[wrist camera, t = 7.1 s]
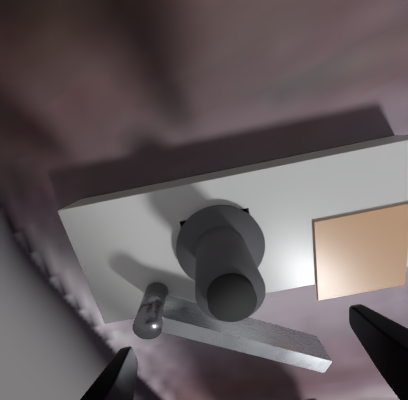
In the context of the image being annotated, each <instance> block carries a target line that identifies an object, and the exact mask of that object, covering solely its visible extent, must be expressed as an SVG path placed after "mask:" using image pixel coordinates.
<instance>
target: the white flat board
mask: <svg viewBox="0 0 408 400" xmlns="http://www.w3.org/2000/svg"><path fill="white" fill-rule="evenodd" d="M214 205H229V206H233V207H237V208H239V209H242V210H243V211H245V212H247V213H248V214H249V215H251V216H252V217H253V218H254V219H255V221H256V222H257V224H258V225H259V226H260V228H261V230H262V232H263V235H264V239H265V252H264V256H263V259H262V262H261V263H260V265H259V267H258V270H259V272H260V274H261V276H262V278H263V280H264V283H265V289H266V292H265V293H270V292H275V291H281V290H286V289H291V288H297V287H302V286H307V285H313V284H316V288H317V299H318V301H320V300H325V299H330V298H336V297H341V296H346V295H352V294H357V293H362V292H368V291H373V290H379V289H384V288H389V287H395V286H400V285H405V275H406V267H408V135H395V136H390V137H385V138H380V139H375V140H370V141H365V142H360V143H355V144H350V145H345V146H340V147H335V148H330V149H326V150H321V151H316V152H311V153H306V154H301V155H296V156H291V157H286V158H281V159H276V160H271V161H266V162H262V163H257V164H252V165H247V166H242V167H237V168H232V169H227V170H222V171H217V172H212V173H207V174H202V175H197V176H193V177H188V178H183V179H178V180H173V181H168V182H163V183H158V184H153V185H148V186H143V187H138V188H133V189H128V190H124V191H119V192H114V193H109V194H104V195H99V196H94V197H89V198H84V199H80V200H78V201H76V202H74V203H72V204H70V205H68V206H66V207H64V208H62V209H60V210H58V214H59V216H60V218H61V221H62V223H63V225H64V228H65V230H66V233H67V235H68V237H69V240H70V242H71V244H72V247H73V249H74V251H75V254H76V256H77V258H78V261H79V263H80V266H81V268H82V270H83V273H84V275H85V277H86V280H87V282H88V284H89V287H90V289H91V292H92V294H93V296H94V299H95V301H96V303H97V306H98V308H99V310H100V313H101V315H102V318H103V320H104V322H105V323H111V322H116V321H121V320H127V319H132V318H136V315H137V313H138V310H139V307H140V304H141V301H142V298H143V295H144V292H145V290H146V287H147V286H148V285H149V284H151V283H154V282H159V283H162V284H164V285H165V286H166V287H167V288H168V291H169V293H168V295H169V296H173V297H176V298H180V299H183V300H187V301H191V302H194V303H197V302H196V298H195V281H194V280H193V279H191V278H190V277H189V276H188V275H187V274H186V273H185V272H184V271H183V269H182V268H181V266H180V264H179V262H178V259H177V255H176V242H177V238H178V234H179V232H180V229H181V227H182V226H183V224H184V223H185V220H187V219H188V218H189V217H190V216H191V215H193V214H194V213H196V212H197V211H199V210H201V209H203V208H206V207H209V206H214Z"/></svg>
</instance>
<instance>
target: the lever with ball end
mask: <svg viewBox="0 0 408 400" xmlns="http://www.w3.org/2000/svg"><path fill="white" fill-rule="evenodd" d="M168 293H169V291H168V288H167V287H166V286H165V285H164V284H162V283H159V282H154V283H151V284H149V285H148V286H147V287H146V290H145V292H144V295H143V298H142V301H141V304H140V307H139V310H138V313H137V315H136V318H135V321H134V324H133V331H134V333H135V334H136V335H137V336H138V337H140V338H142V339H153V338H156V337H157V336H159V334H160V333H161V332H163V333H167V334H171V335H175V336H179V337H183V338H187V339H191V340H195V341H199V342H203V343H207V344H211V345H215V346H219V347H223V348H227V349H231V350H235V351H239V352H243V353H247V354H251V355H255V356H259V357H263V358H267V359H271V360H275V361H279V362H283V363H287V364H291V365H295V366H299V367H303V368H307V369H311V370H315V371H319V372H323V373H325V371H326V370H327V368H328V367H329V365H330V364H331V363H332V360H331V358H330V357H329V355H328V354H327V352H326V350H325V349H324V347H323V345H322V344H321V342H320V341H319V339H318V337H317V336H314V335H311V334H307V333H304V332H300V331H296V330H293V329H289V328H285V327H282V326H278V325H274V324H271V323H267V322H264V321H260V320H256V319H253V318H249V317H247V318H245V319H243V320H241V321H237V322H224V321H218V320H215V319H213V318H210V317H209V316H207V315H206V314H205V313H203V312H202V310H201V309H200V308H199V306H198V304H197V303H194V302H191V301H187V300H183V299H180V298H176V297H173V296H169V295H168Z"/></svg>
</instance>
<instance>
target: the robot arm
mask: <svg viewBox="0 0 408 400" xmlns="http://www.w3.org/2000/svg"><path fill="white" fill-rule="evenodd" d="M349 322H350V325H351V328H352V329H353V331H354V333H355V334H356V336H357V337H358V339H359V340H360V342H361V344H362V345H363V347H364V348H365V350H366V352H367V353H368V355H369V356H370V358H371V360H372V361H373V363H374V364H375V366H376V367H377V369H378V370H379V372H380V373H381V375H382V376H383V378H384V379H385V380H386V382H387V383H388V384H389V386H390V387H391V388H392V390H393V391H394V392H395V394H396V395H397V396H398V398H399V399H400V400H408V328H406V327H404V326H402V325H400V324H398V323H396V322H394V321H392V320H390V319H388V318H387V317H385V316H383V315H381V314H379V313H377V312H375V311H373V310H371V309H369V308H367V307H366V306H364V305H361V304H358V305H352V306H350V308H349ZM137 368H138V362H137V358H136V356H135V353H134V351H133V348H132V347H125V348H121V349H120V350H119V351H118V353H117V354H116V355H115V357H114V358H113V359H112V360H111V362H110V363H109V364H108V365H107V367H106V368H105V369H104V371H103V372H102V373H101V374H100V375H99V377H98V378H97V379H96V381H95V382H94V383H93V384H92V385H91V387H90V388H89V389H88V391H87V392H86V393H85V394H84V396H83V397H82V398H81V399H80V400H133V397H134V390H135V383H136V376H137Z"/></svg>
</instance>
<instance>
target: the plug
mask: <svg viewBox="0 0 408 400" xmlns="http://www.w3.org/2000/svg"><path fill="white" fill-rule="evenodd" d="M264 252H265V239H264V235H263V232H262V230H261V228H260V226H259V225H258V224H257V222H256V221H255V219H254V218H253V217H252V216H251V215H249V214H248V213H247V212H245V211H243V210H242V209H239V208H237V207H233V206H229V205H214V206H209V207H206V208H203V209H201V210H199V211H197V212H196V213H194V214H193V215H191V216H190V217H189V218H188V219H187V220H186V222H185V223H184V224H183V226H182V227H181V229H180V232H179V234H178V238H177V242H176V255H177V259H178V262H179V264H180V266H181V268H182V269H183V271H184V272H185V273H186V274H187V275H188V276H189V277H190V278H191V279H193V280H194V281H195V298H196V302H197V304H198V306H199V308H200V309H201V310H202V312H203V313H205V314H206V315H207V316H209V317H210V318H213V319H215V320H218V321H224V322H237V321H241V320H243V319H245V318H247V317H248V316H250V315H252V314H253V313H254V312H255V311H256V310H257V309H258V308H259V307H260V306H261V304H262V302H263V300H264V297H265V292H266V289H265V283H264V280H263V278H262V276H261V274H260V272H259V270H258V267H259V265H260V263H261V262H262V259H263V256H264Z"/></svg>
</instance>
